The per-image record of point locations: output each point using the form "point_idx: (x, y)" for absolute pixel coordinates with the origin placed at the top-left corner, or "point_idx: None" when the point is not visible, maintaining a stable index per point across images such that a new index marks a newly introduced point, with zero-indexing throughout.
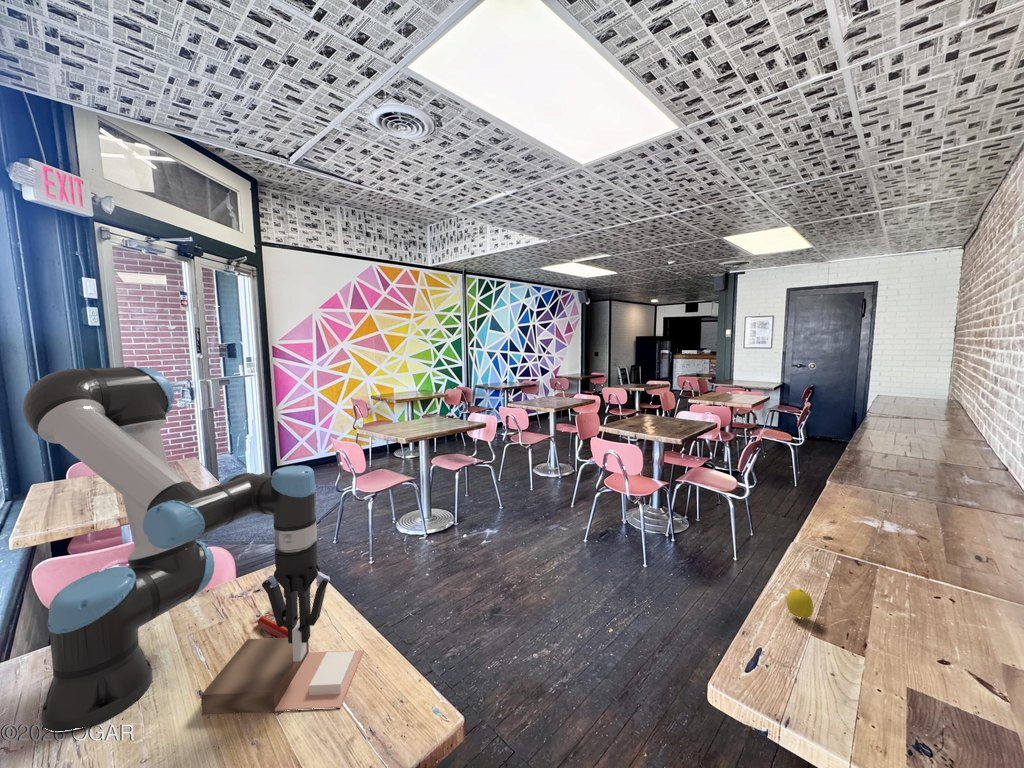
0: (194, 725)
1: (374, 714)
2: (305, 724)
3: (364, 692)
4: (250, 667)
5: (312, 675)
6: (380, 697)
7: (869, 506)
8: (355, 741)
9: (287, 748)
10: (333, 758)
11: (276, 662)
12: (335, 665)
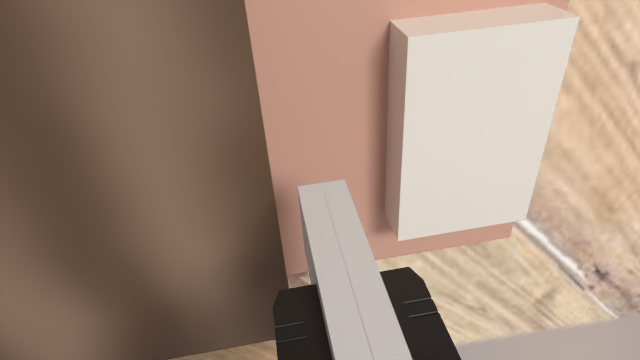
0: None
1: (610, 233)
2: None
3: (582, 166)
4: (53, 261)
5: (352, 122)
6: (635, 178)
7: None
8: (558, 298)
9: None
10: (510, 333)
11: (179, 215)
12: (484, 131)
